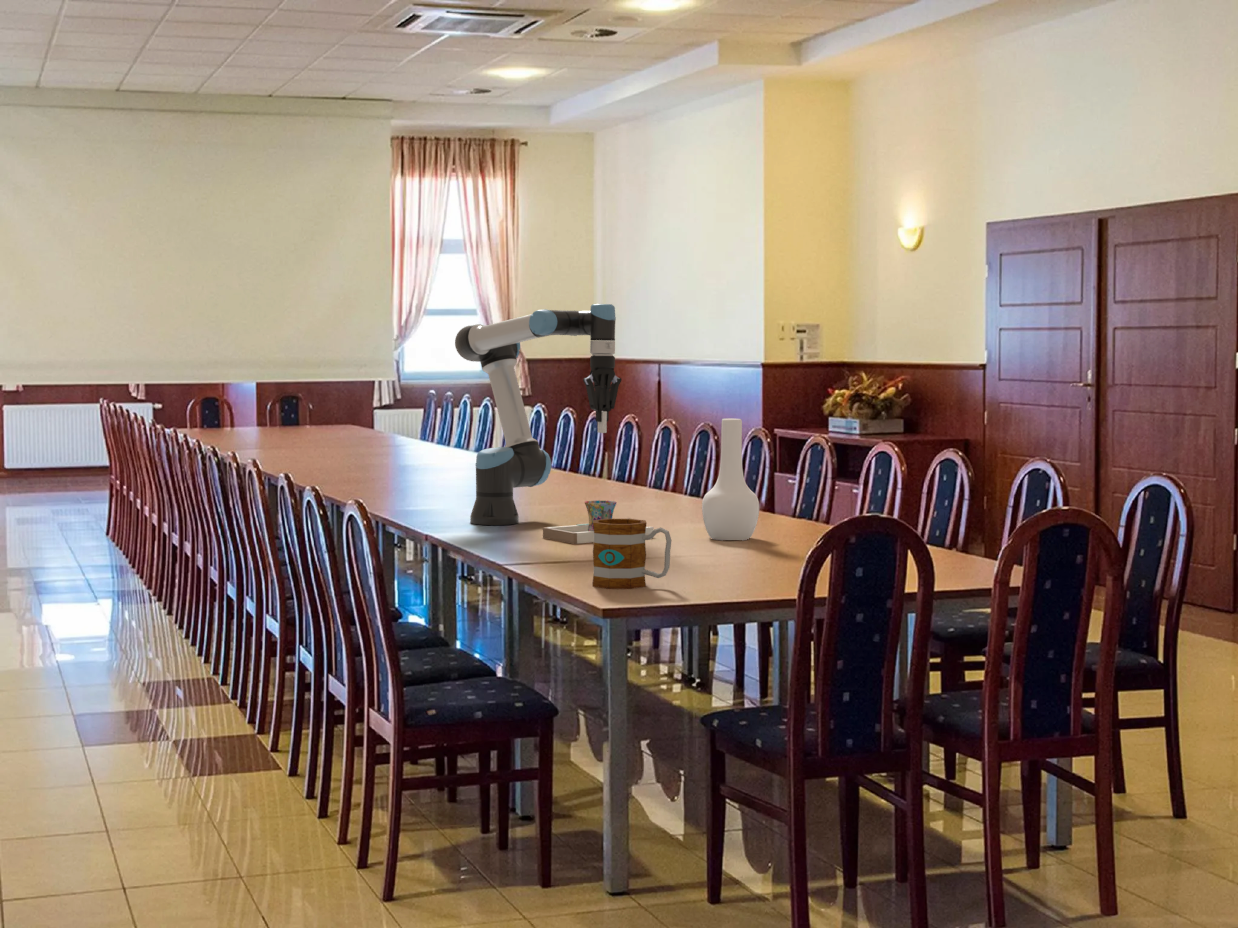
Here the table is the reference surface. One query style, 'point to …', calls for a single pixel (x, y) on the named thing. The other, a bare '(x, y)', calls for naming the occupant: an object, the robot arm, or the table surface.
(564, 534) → the teal-striped rail frame
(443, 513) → the table surface
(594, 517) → the mug
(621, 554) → the mug
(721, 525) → the vase
